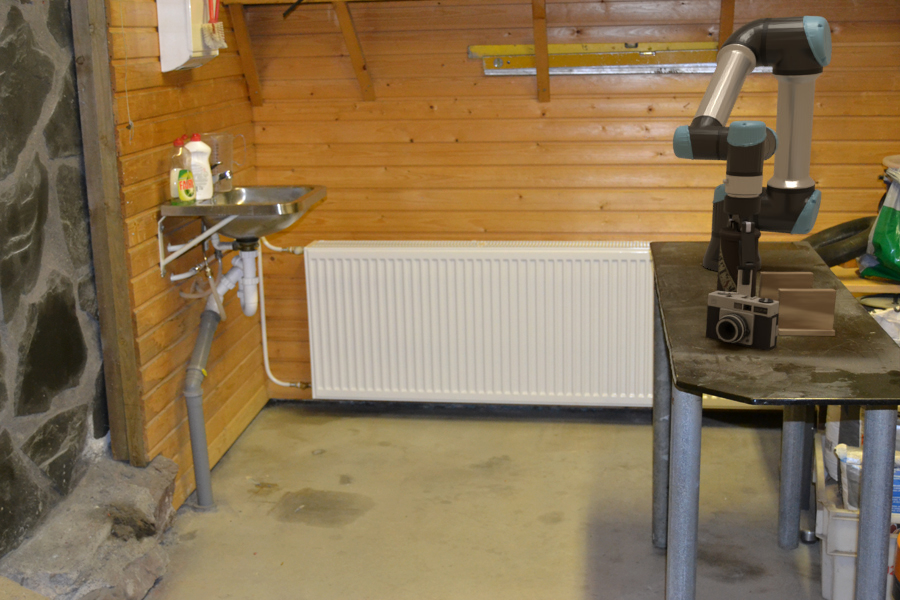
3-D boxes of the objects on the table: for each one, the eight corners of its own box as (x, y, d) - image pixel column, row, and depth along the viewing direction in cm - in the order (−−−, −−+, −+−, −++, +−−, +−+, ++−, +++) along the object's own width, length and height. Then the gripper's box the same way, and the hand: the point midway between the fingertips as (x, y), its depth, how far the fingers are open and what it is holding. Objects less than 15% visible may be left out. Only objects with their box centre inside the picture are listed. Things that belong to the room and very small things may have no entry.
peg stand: (755, 308, 202) (758, 270, 200) (805, 309, 201) (809, 270, 199) (779, 335, 183) (782, 293, 181) (834, 335, 182) (838, 293, 180)
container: (705, 313, 199) (710, 225, 194) (737, 308, 202) (743, 222, 197) (731, 323, 191) (737, 232, 186) (764, 318, 195) (771, 228, 189)
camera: (691, 339, 181) (696, 291, 179) (719, 332, 186) (723, 286, 184) (751, 356, 170) (756, 306, 168) (778, 348, 176) (783, 299, 173)
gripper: (713, 186, 202) (707, 277, 208) (737, 203, 178) (731, 305, 184) (747, 186, 201) (740, 277, 207) (776, 203, 177) (768, 306, 183)
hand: (736, 291), depth 195 cm, fingers open, 13 cm apart
